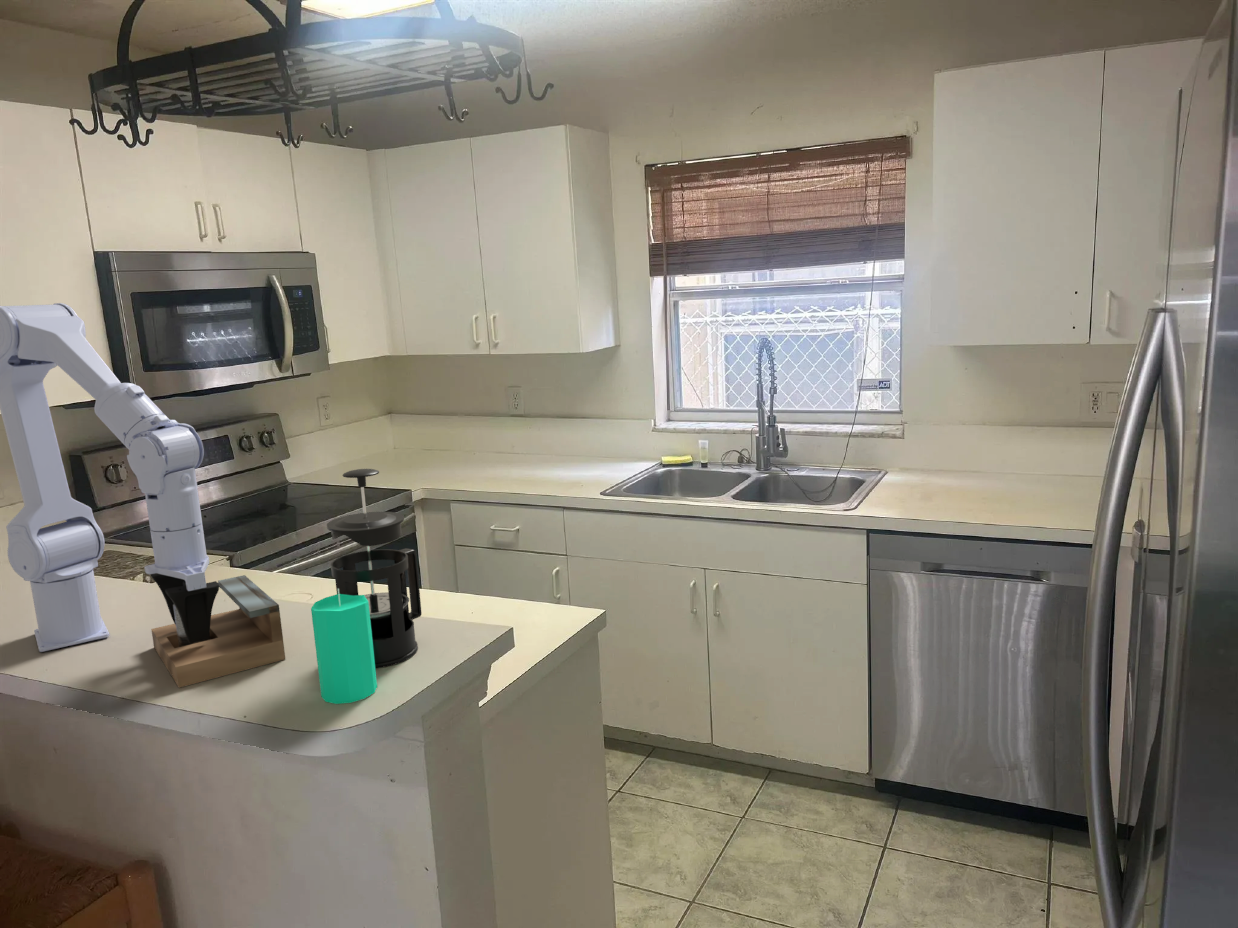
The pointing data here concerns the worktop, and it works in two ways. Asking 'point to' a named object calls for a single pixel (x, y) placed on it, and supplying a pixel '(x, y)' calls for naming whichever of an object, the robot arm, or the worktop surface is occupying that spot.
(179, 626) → the peg
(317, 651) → the candle
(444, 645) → the worktop surface
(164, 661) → the socket board
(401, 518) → the french press
